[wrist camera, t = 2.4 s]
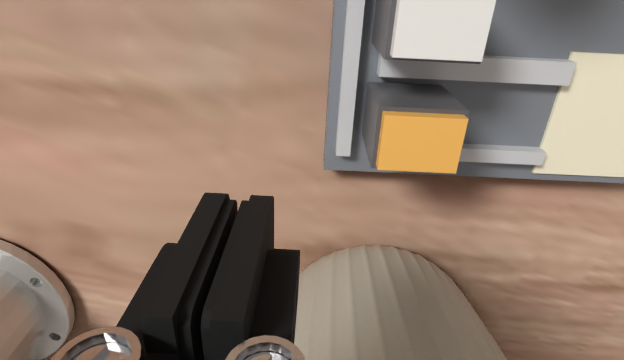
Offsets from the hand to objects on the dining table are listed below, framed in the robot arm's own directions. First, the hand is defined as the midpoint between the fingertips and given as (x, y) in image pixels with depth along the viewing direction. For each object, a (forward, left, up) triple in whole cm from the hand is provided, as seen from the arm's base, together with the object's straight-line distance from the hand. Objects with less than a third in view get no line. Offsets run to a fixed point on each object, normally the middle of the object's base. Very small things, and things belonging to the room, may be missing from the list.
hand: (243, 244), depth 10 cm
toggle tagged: (0, -7, -13) cm, 15 cm away
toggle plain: (+5, -7, -13) cm, 16 cm away
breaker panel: (+2, -13, -15) cm, 20 cm away
